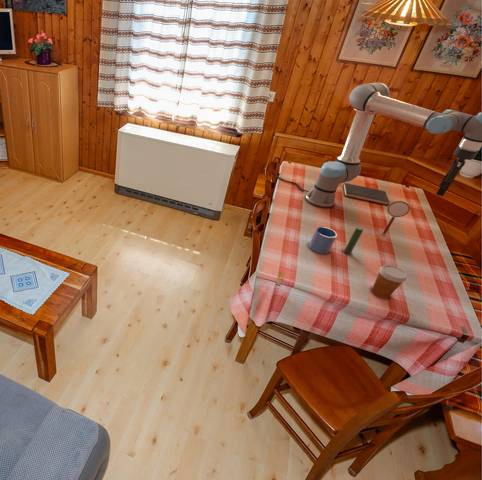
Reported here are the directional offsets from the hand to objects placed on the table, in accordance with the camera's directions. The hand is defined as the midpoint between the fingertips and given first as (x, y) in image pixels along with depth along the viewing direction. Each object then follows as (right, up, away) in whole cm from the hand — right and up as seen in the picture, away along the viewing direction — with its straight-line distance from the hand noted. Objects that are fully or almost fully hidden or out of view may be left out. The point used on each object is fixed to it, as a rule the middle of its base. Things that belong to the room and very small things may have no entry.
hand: (440, 190), depth 181 cm
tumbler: (-59, -28, +1) cm, 65 cm away
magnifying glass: (-18, -22, +14) cm, 31 cm away
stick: (-46, -30, -1) cm, 55 cm away
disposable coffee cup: (-47, -46, -24) cm, 70 cm away
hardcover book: (-2, +4, +50) cm, 51 cm away
